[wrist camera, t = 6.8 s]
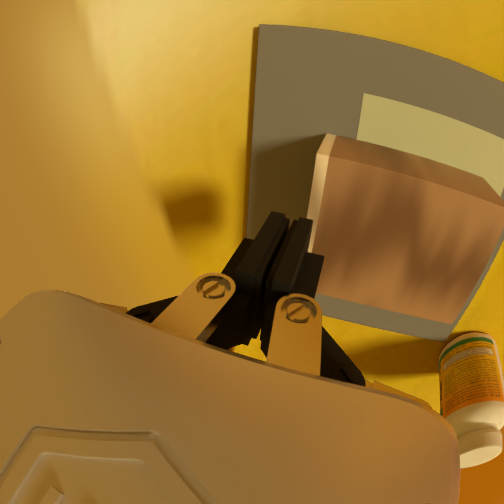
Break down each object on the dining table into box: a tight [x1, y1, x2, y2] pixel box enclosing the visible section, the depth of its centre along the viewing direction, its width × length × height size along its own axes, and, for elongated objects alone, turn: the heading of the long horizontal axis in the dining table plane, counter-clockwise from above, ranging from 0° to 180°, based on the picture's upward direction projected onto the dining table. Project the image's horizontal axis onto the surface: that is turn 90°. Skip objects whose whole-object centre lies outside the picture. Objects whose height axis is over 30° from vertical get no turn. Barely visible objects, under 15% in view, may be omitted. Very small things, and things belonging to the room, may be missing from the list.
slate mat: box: [246, 24, 504, 342], centre depth 16 cm, size 18×16×1 cm
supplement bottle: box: [438, 332, 504, 468], centre depth 16 cm, size 5×5×10 cm
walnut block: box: [307, 134, 504, 324], centre depth 14 cm, size 7×4×9 cm
